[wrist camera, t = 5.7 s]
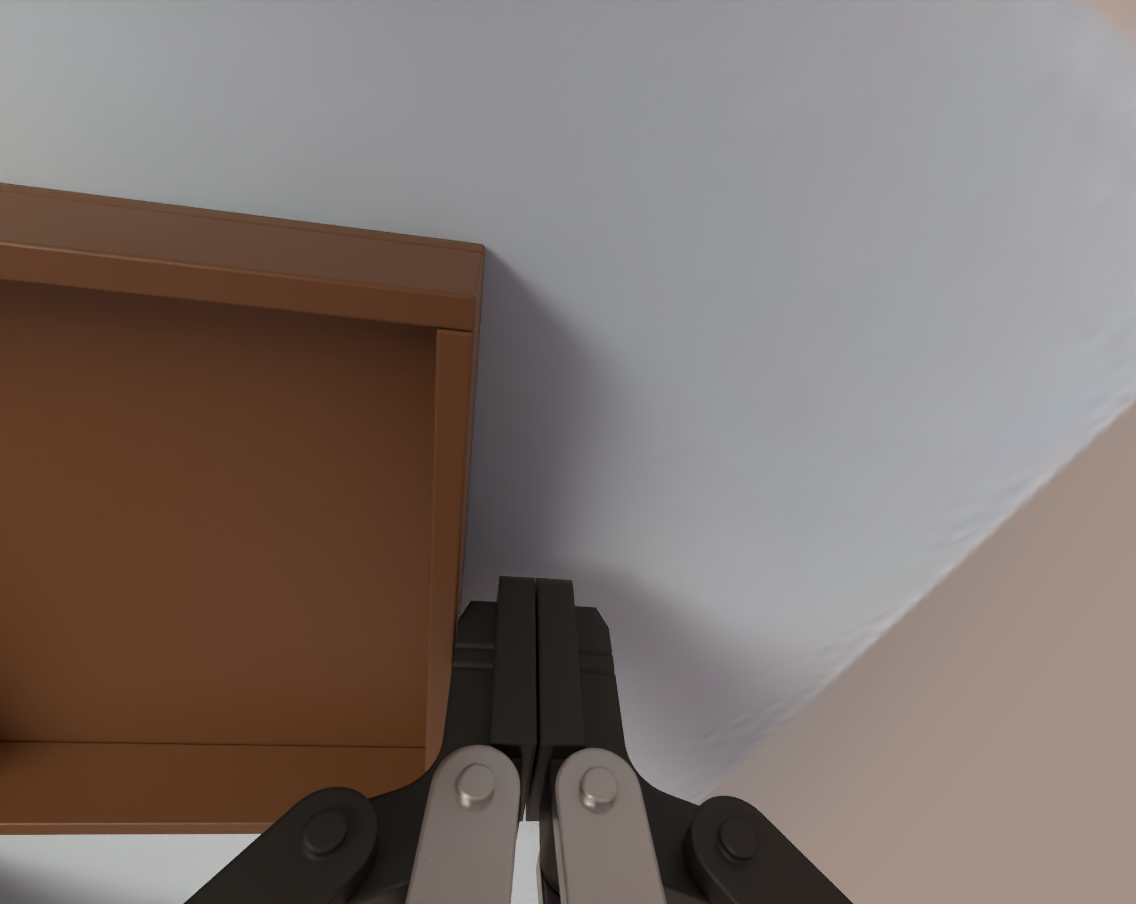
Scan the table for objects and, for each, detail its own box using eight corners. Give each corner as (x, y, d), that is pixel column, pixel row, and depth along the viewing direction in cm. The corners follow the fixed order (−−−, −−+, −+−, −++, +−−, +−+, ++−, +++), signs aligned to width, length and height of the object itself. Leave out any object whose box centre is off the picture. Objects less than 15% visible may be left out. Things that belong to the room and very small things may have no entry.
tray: (-461, 122, 8) (-800, 149, 6) (486, 243, 10) (476, 296, 8) (-39, 731, 16) (-125, 836, 14) (451, 739, 17) (443, 834, 15)
